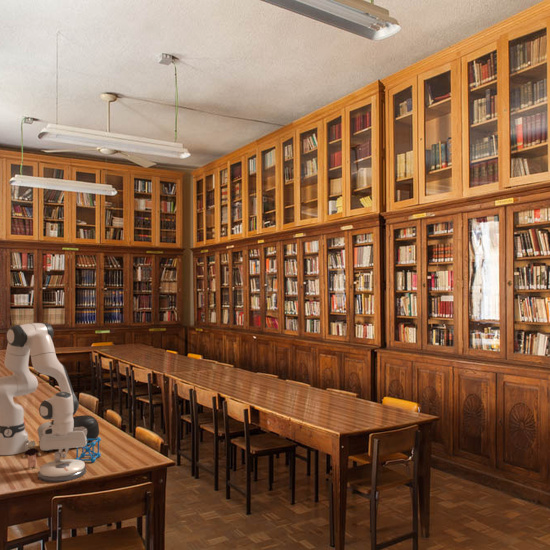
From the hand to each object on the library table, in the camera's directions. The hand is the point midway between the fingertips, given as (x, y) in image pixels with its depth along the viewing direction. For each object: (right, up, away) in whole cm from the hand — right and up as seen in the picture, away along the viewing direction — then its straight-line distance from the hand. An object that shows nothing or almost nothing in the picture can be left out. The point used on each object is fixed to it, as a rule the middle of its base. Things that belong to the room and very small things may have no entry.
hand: (63, 457), depth 244 cm
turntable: (+2, -3, -7) cm, 8 cm away
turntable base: (+2, -5, -7) cm, 9 cm away
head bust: (-11, -6, +34) cm, 37 cm away
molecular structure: (+6, -6, +13) cm, 16 cm away
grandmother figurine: (-16, -5, +1) cm, 17 cm away
